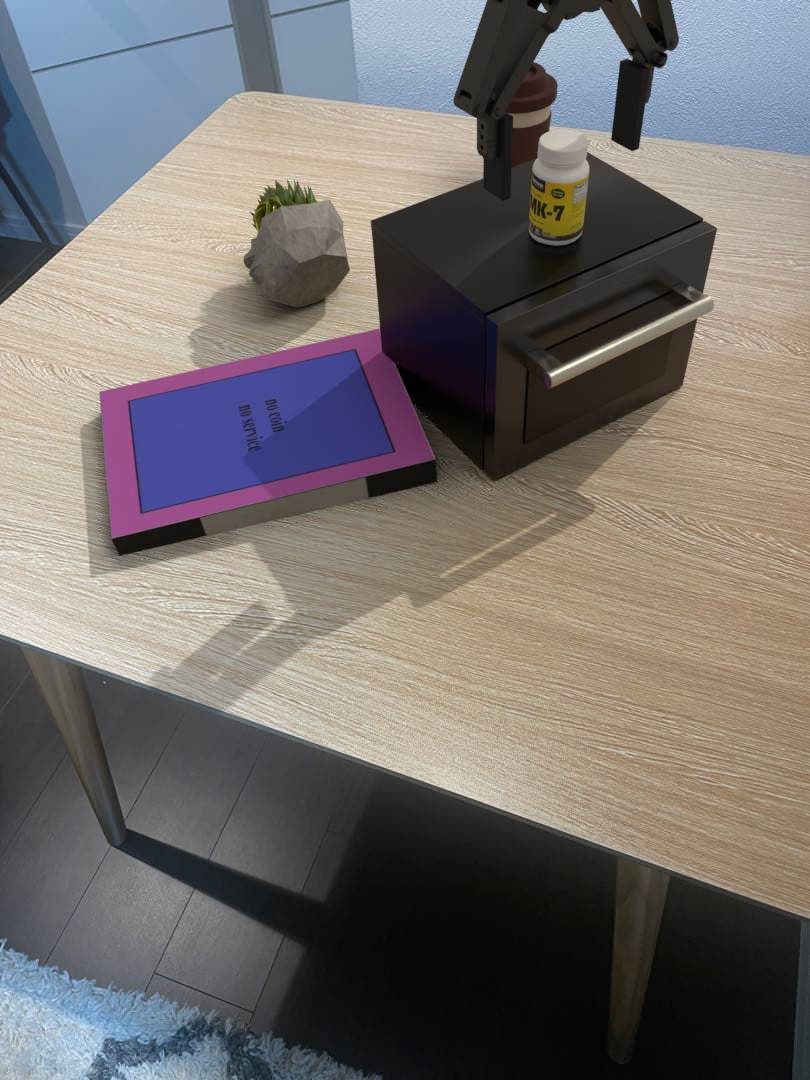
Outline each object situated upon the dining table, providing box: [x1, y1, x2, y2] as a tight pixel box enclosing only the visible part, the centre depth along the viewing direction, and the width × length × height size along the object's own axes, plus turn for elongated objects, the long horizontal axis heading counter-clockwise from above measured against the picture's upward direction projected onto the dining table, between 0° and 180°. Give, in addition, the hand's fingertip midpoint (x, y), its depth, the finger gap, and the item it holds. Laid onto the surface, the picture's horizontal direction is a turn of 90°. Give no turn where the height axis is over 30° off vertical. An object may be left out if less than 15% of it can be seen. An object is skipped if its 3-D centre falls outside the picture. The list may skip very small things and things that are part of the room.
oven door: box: [483, 220, 718, 482], centre depth 83 cm, size 5×24×18 cm, turn 123°
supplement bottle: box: [529, 129, 589, 246], centre depth 78 cm, size 5×5×8 cm
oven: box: [370, 151, 704, 472], centre depth 90 cm, size 18×24×18 cm
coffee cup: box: [482, 61, 559, 168], centre depth 117 cm, size 10×10×15 cm
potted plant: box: [243, 178, 351, 308], centre depth 106 cm, size 12×13×15 cm
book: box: [98, 327, 438, 557], centre depth 90 cm, size 21×3×30 cm
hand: (562, 168), depth 76 cm, fingers open, 13 cm apart
